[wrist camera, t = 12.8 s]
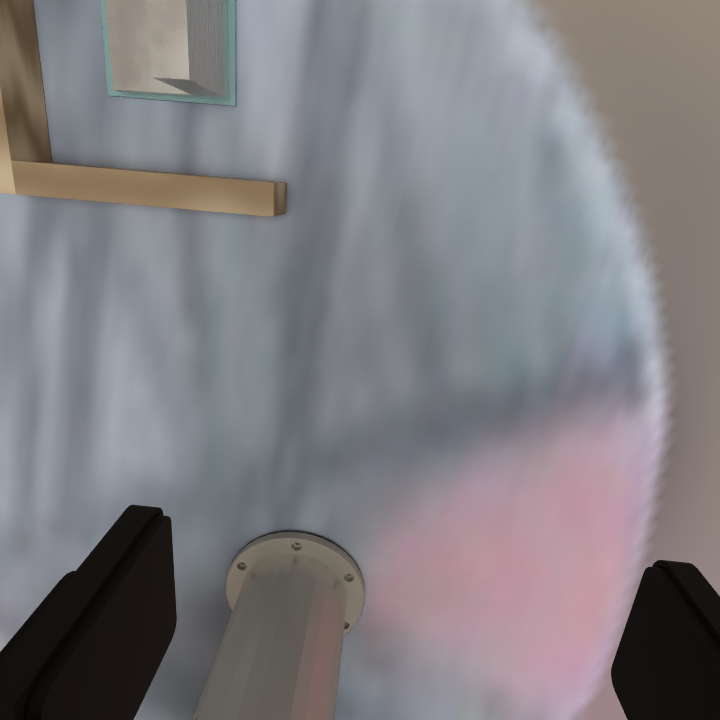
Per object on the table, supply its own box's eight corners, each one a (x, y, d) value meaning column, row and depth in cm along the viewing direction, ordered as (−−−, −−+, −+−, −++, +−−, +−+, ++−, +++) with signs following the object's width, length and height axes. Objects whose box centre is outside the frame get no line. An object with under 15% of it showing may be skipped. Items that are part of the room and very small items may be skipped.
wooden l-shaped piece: (285, 213, 35) (273, 216, 31) (27, 190, 36) (-15, 191, 32) (298, -200, 28) (283, -261, 24) (-28, -221, 28) (-93, -283, 24)
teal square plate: (236, 106, 33) (235, 105, 33) (109, 95, 33) (108, 95, 33) (235, -61, 30) (235, -63, 30) (96, -71, 30) (94, -73, 30)
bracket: (230, 100, 33) (189, 79, 26) (124, 93, 33) (58, 71, 26) (227, -49, 30) (181, -114, 23) (112, -55, 30) (35, -121, 24)
